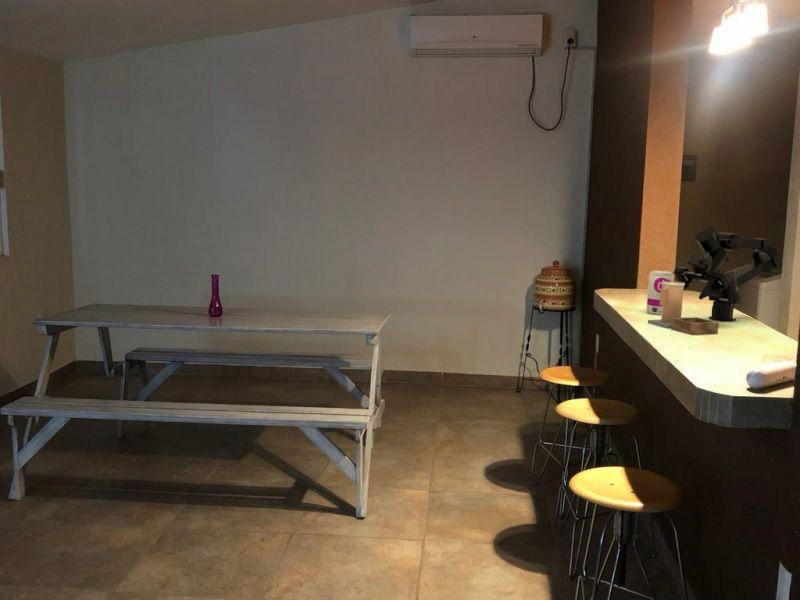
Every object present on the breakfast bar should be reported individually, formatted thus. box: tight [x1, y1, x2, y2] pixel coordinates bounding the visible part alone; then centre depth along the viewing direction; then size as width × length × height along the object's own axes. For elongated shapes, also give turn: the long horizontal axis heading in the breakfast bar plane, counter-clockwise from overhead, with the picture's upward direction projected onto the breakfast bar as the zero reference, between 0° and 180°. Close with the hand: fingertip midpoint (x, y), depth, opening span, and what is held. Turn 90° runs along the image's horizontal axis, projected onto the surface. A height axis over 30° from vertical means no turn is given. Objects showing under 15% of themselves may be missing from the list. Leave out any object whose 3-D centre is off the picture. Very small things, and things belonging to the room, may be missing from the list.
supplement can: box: [646, 270, 674, 316], centre depth 273 cm, size 8×8×15 cm
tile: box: [647, 319, 671, 329], centre depth 251 cm, size 10×10×1 cm
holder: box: [670, 316, 719, 336], centre depth 240 cm, size 10×10×4 cm
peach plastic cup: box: [660, 280, 685, 323], centre depth 249 cm, size 9×7×13 cm
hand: (687, 296), depth 253 cm, fingers open, 9 cm apart
